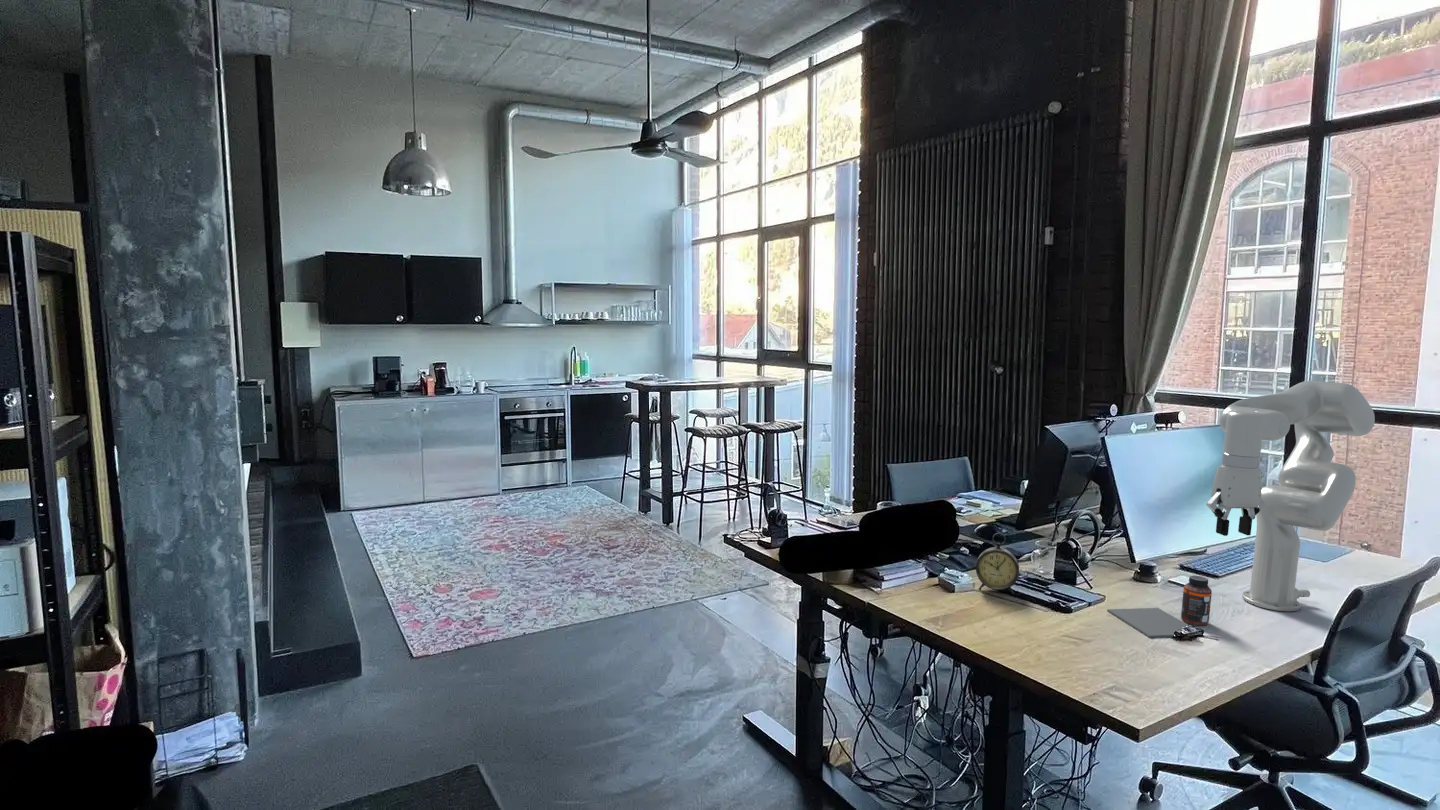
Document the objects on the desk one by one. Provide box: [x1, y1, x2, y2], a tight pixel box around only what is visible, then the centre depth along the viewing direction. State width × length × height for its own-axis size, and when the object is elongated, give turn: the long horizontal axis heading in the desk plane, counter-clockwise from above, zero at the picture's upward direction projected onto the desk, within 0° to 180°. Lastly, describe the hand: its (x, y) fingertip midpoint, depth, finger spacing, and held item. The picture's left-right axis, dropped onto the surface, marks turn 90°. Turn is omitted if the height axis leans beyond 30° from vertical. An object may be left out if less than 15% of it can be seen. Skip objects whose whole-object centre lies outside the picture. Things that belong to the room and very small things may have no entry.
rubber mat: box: [1106, 607, 1189, 639], centre depth 190 cm, size 14×16×1 cm
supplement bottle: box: [1180, 575, 1213, 626], centre depth 191 cm, size 6×6×11 cm
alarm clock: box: [975, 532, 1020, 595], centre depth 209 cm, size 11×5×16 cm, turn 68°
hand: (1233, 533), depth 189 cm, fingers open, 5 cm apart
